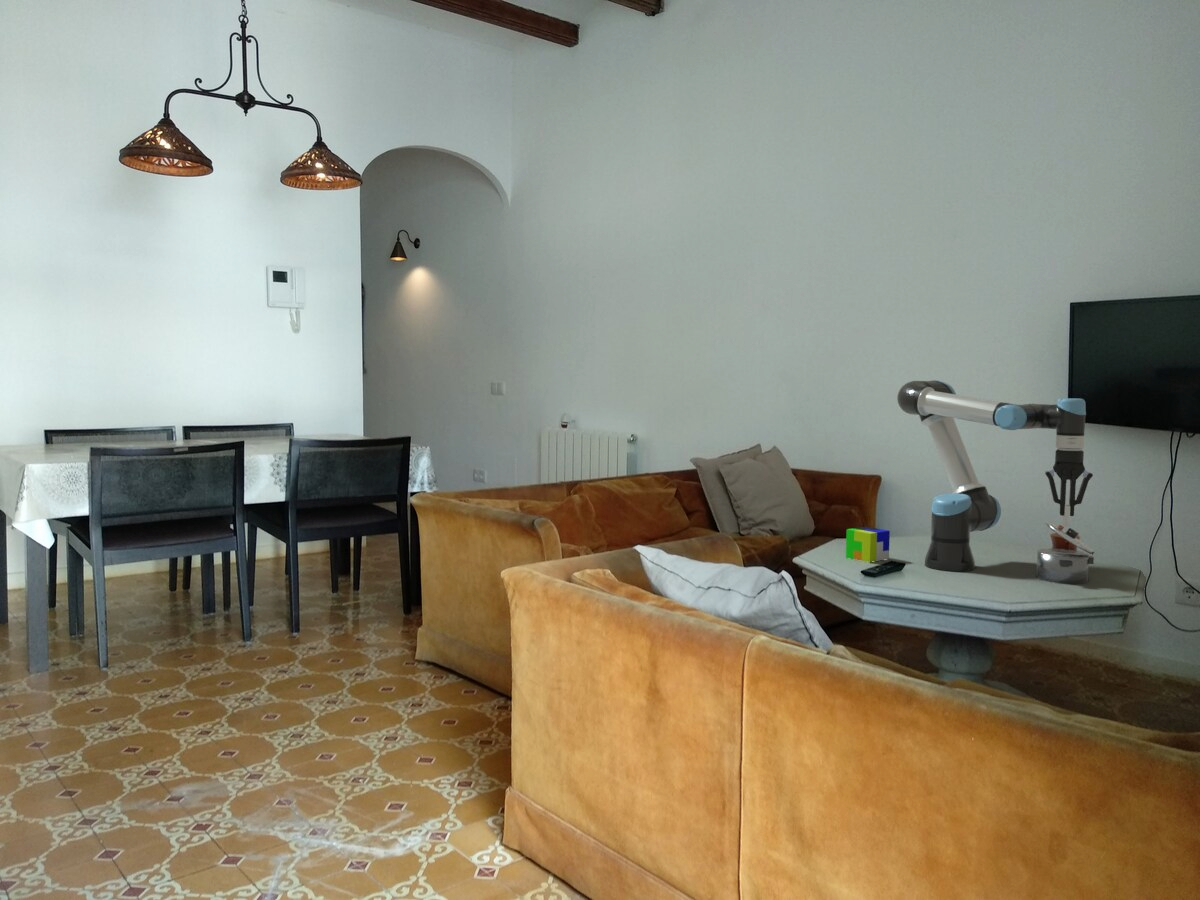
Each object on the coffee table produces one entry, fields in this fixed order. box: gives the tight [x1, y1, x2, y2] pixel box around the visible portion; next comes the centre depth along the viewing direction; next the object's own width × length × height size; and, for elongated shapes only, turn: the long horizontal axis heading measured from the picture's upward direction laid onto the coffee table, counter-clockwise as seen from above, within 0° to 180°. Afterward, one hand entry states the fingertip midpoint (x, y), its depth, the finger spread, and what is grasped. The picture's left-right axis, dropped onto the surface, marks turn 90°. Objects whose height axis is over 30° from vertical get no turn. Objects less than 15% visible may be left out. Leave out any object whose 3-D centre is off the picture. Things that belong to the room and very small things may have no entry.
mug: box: [1049, 532, 1081, 551], centre depth 281 cm, size 12×9×10 cm
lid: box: [1044, 520, 1095, 556], centre depth 263 cm, size 15×15×3 cm
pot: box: [1035, 548, 1095, 585], centre depth 265 cm, size 15×19×8 cm
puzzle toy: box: [845, 526, 891, 562], centre depth 295 cm, size 10×10×10 cm
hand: (1066, 526), depth 264 cm, fingers closed
